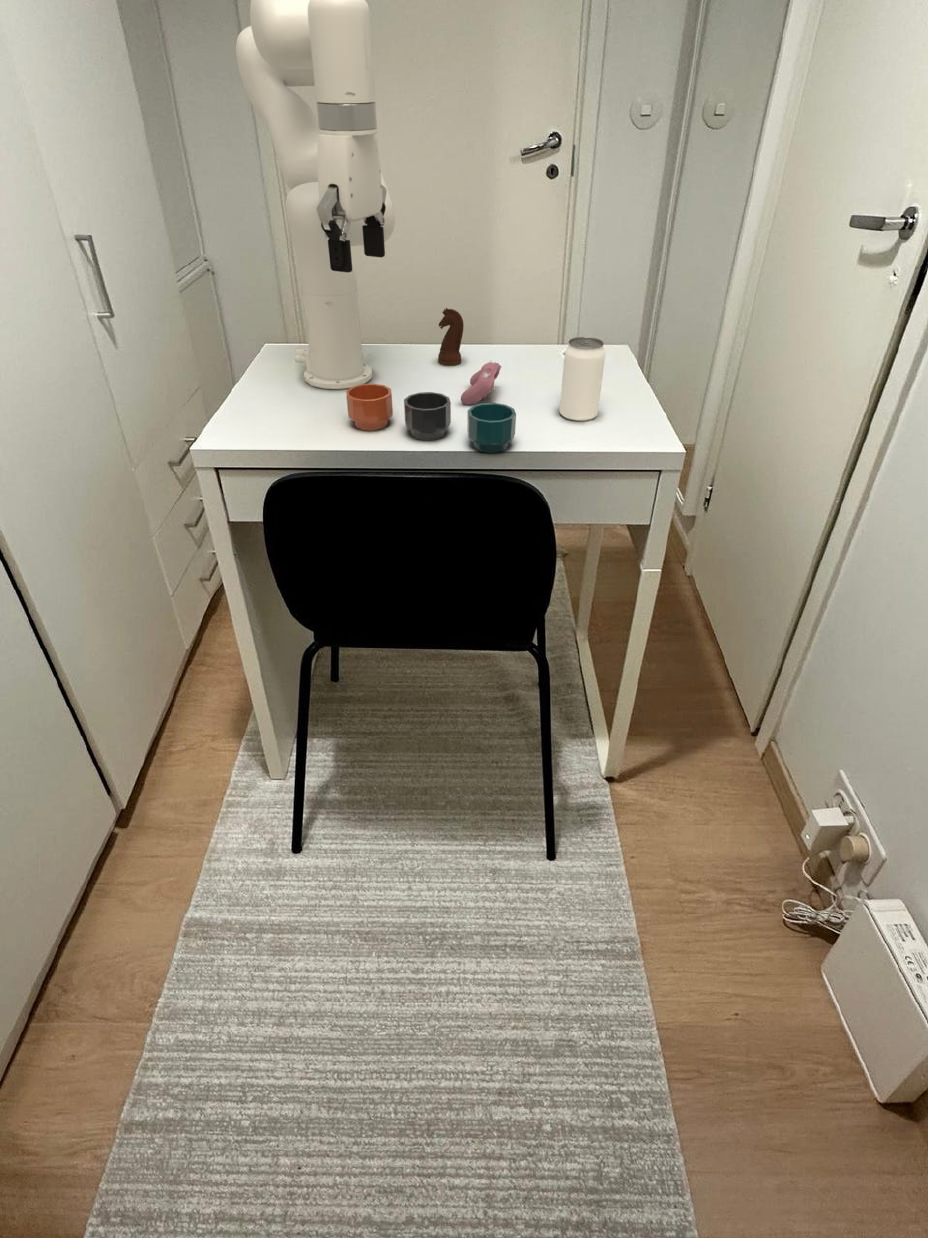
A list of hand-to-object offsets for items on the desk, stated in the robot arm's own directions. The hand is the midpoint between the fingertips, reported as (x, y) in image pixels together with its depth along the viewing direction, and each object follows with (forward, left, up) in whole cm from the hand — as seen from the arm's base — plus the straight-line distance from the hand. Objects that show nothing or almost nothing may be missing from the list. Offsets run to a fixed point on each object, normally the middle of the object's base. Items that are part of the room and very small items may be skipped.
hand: (358, 263), depth 105 cm
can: (+30, +17, -24) cm, 43 cm away
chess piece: (0, +32, -24) cm, 40 cm away
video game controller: (+12, +18, -24) cm, 33 cm away
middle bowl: (0, 0, -24) cm, 24 cm away
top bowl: (+21, 0, -24) cm, 32 cm away
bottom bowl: (+10, 0, -24) cm, 26 cm away
